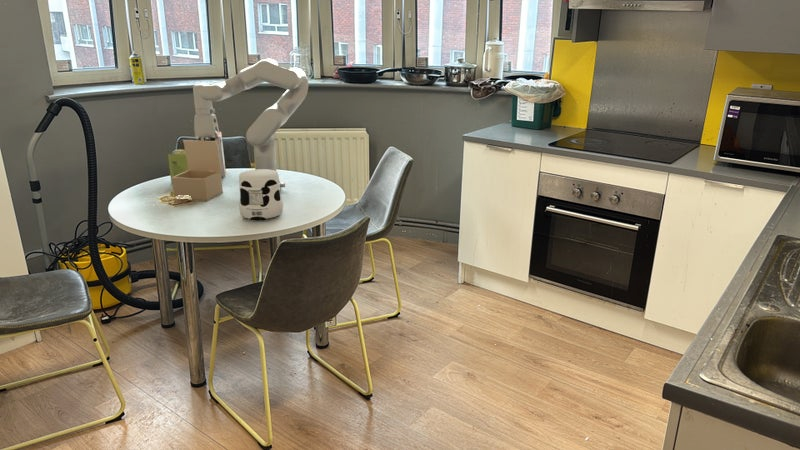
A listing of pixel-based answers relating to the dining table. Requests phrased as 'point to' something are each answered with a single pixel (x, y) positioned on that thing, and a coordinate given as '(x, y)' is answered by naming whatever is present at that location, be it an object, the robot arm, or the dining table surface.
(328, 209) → the dining table surface
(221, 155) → the cracker box
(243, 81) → the robot arm
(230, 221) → the dining table surface
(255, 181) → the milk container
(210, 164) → the lid flap
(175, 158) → the protein box
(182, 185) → the carton
